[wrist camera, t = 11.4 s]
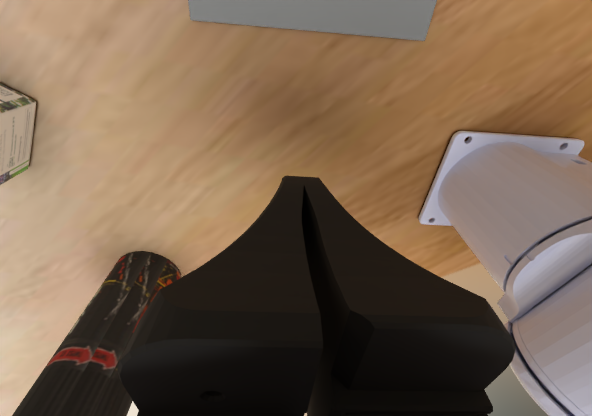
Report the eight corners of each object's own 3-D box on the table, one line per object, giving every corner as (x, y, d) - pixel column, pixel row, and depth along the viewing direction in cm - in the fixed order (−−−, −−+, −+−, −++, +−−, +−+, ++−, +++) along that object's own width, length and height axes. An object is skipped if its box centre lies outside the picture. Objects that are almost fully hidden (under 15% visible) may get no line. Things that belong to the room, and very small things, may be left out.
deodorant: (116, 244, 25) (-53, 472, 12) (184, 260, 26) (92, 480, 14) (116, 286, 28) (-18, 500, 16) (177, 297, 29) (97, 504, 17)
